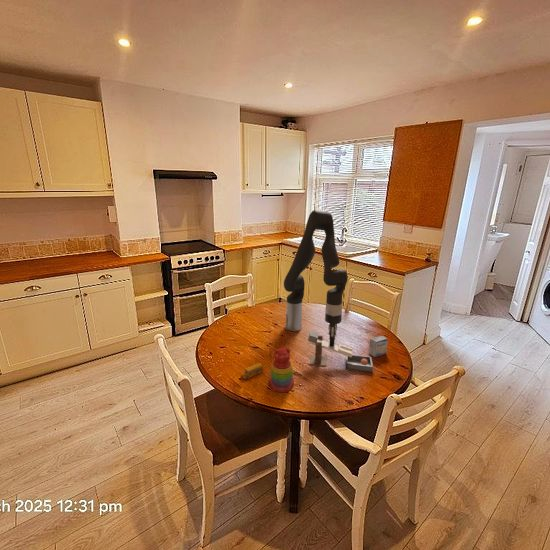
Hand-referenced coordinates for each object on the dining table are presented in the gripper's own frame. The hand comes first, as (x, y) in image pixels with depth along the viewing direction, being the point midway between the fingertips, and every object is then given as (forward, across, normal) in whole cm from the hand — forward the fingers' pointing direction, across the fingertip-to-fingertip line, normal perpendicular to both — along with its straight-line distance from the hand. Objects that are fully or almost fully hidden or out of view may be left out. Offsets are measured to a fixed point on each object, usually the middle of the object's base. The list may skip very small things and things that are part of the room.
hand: (331, 345), depth 142 cm
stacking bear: (+10, +22, -20) cm, 31 cm away
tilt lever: (+1, 0, -1) cm, 2 cm away
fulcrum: (+9, 0, -6) cm, 11 cm away
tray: (+9, 0, +13) cm, 16 cm away
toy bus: (+10, +17, -35) cm, 40 cm away
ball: (+7, 0, +15) cm, 17 cm away
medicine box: (+10, -13, +23) cm, 28 cm away
